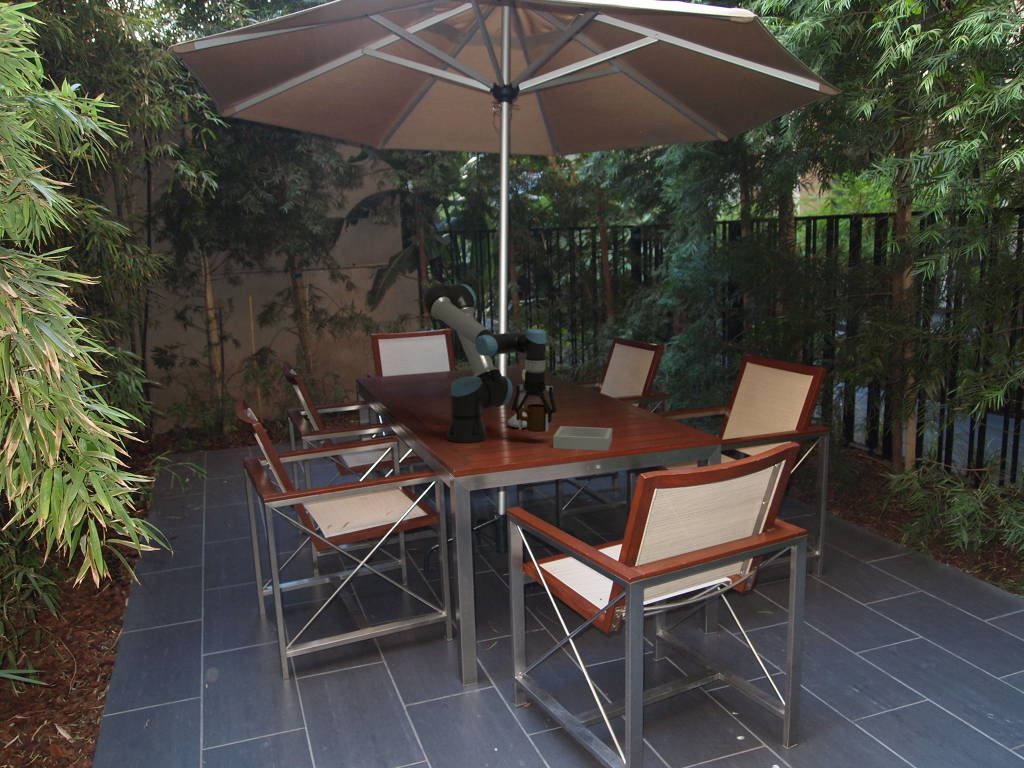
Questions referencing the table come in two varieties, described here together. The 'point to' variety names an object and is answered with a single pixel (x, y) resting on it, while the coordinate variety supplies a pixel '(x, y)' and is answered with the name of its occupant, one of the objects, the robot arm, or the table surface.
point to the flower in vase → (513, 420)
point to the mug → (534, 417)
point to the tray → (582, 438)
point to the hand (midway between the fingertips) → (533, 429)
